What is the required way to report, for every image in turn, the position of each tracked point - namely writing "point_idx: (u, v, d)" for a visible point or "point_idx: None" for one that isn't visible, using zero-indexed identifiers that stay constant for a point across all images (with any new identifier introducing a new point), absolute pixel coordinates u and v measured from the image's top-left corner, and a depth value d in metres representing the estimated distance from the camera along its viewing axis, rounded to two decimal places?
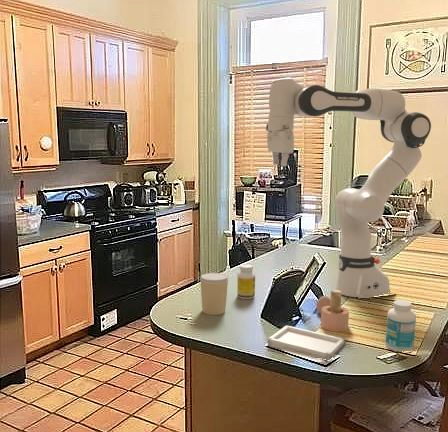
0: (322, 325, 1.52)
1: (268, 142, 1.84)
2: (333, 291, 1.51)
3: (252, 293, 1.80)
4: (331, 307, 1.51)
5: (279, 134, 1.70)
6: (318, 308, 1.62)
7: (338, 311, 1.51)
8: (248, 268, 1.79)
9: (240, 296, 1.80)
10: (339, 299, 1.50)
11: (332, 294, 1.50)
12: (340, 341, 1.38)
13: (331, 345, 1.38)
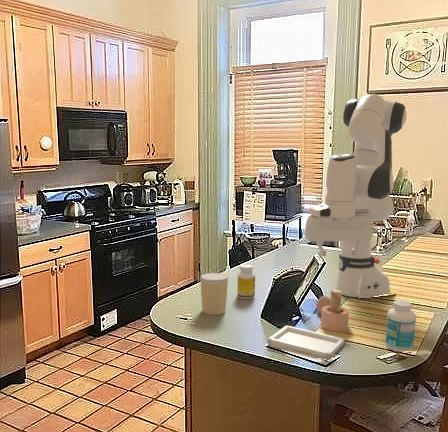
0: (322, 325, 1.52)
1: (314, 231, 1.45)
2: (333, 291, 1.51)
3: (252, 293, 1.80)
4: (331, 307, 1.51)
5: (357, 220, 1.47)
6: (318, 308, 1.62)
7: (338, 311, 1.51)
8: (248, 268, 1.79)
9: (240, 296, 1.80)
10: (339, 299, 1.50)
11: (332, 294, 1.50)
12: (340, 341, 1.38)
13: (331, 345, 1.38)
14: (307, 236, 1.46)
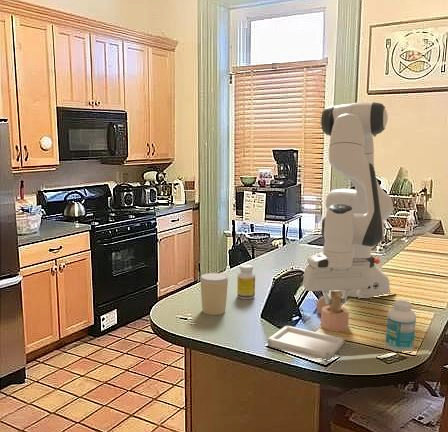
0: (322, 325, 1.52)
1: (312, 281, 1.47)
2: (333, 291, 1.51)
3: (252, 293, 1.80)
4: (331, 307, 1.51)
5: (355, 270, 1.49)
6: (318, 308, 1.62)
7: (338, 311, 1.51)
8: (248, 268, 1.79)
9: (240, 296, 1.80)
10: (339, 299, 1.50)
11: (332, 294, 1.50)
12: (340, 341, 1.38)
13: (331, 345, 1.38)
14: (305, 286, 1.48)
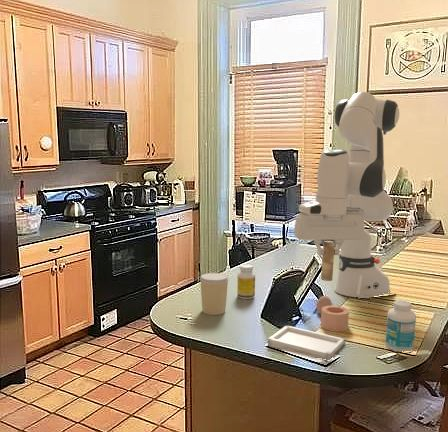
0: (322, 325, 1.52)
1: (303, 229, 1.39)
2: (326, 242, 1.43)
3: (252, 293, 1.80)
4: (323, 258, 1.43)
5: (349, 219, 1.41)
6: (318, 308, 1.62)
7: (331, 263, 1.42)
8: (248, 268, 1.79)
9: (240, 296, 1.80)
10: (332, 250, 1.42)
11: (325, 244, 1.42)
12: (340, 341, 1.38)
13: (331, 345, 1.38)
14: (296, 234, 1.40)
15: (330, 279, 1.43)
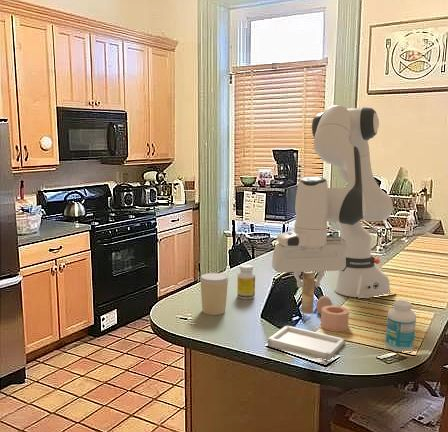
0: (322, 325, 1.52)
1: (281, 261, 1.33)
2: (305, 273, 1.37)
3: (252, 293, 1.80)
4: (303, 290, 1.37)
5: (329, 249, 1.35)
6: (318, 308, 1.62)
7: (311, 295, 1.36)
8: (248, 268, 1.79)
9: (240, 296, 1.80)
10: (312, 281, 1.36)
11: (304, 276, 1.36)
12: (340, 341, 1.38)
13: (331, 345, 1.38)
14: (274, 266, 1.34)
15: (310, 312, 1.37)
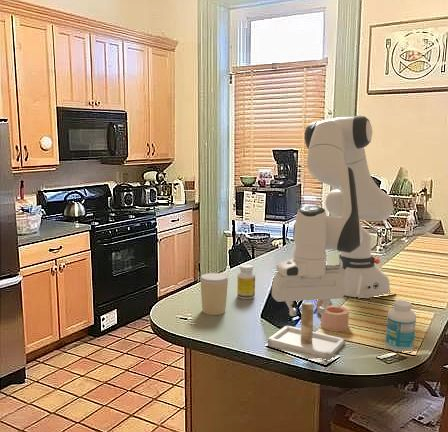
0: (322, 325, 1.52)
1: (280, 291, 1.34)
2: (304, 304, 1.38)
3: (252, 293, 1.80)
4: (302, 321, 1.38)
5: (328, 278, 1.36)
6: (318, 308, 1.62)
7: (310, 326, 1.38)
8: (248, 268, 1.79)
9: (240, 296, 1.80)
10: (311, 312, 1.37)
11: (303, 307, 1.37)
12: (340, 341, 1.38)
13: (331, 345, 1.38)
14: (273, 295, 1.35)
15: (310, 342, 1.38)
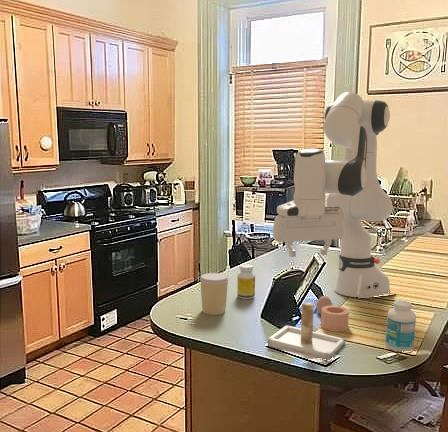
0: (322, 325, 1.52)
1: (281, 231, 1.37)
2: (305, 304, 1.38)
3: (252, 293, 1.80)
4: (302, 321, 1.38)
5: (327, 219, 1.39)
6: (318, 308, 1.62)
7: (310, 326, 1.38)
8: (248, 268, 1.79)
9: (240, 296, 1.80)
10: (311, 313, 1.37)
11: (303, 307, 1.37)
12: (340, 341, 1.38)
13: (331, 345, 1.38)
14: (275, 237, 1.38)
15: (310, 342, 1.38)
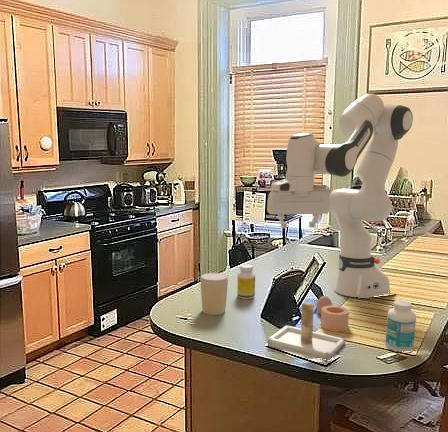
0: (322, 325, 1.52)
1: (274, 205, 1.56)
2: (305, 304, 1.38)
3: (252, 293, 1.80)
4: (302, 321, 1.38)
5: (315, 195, 1.58)
6: (318, 308, 1.62)
7: (310, 326, 1.38)
8: (248, 268, 1.79)
9: (240, 296, 1.80)
10: (311, 313, 1.37)
11: (303, 307, 1.37)
12: (340, 341, 1.38)
13: (331, 345, 1.38)
14: (268, 209, 1.57)
15: (310, 342, 1.38)
